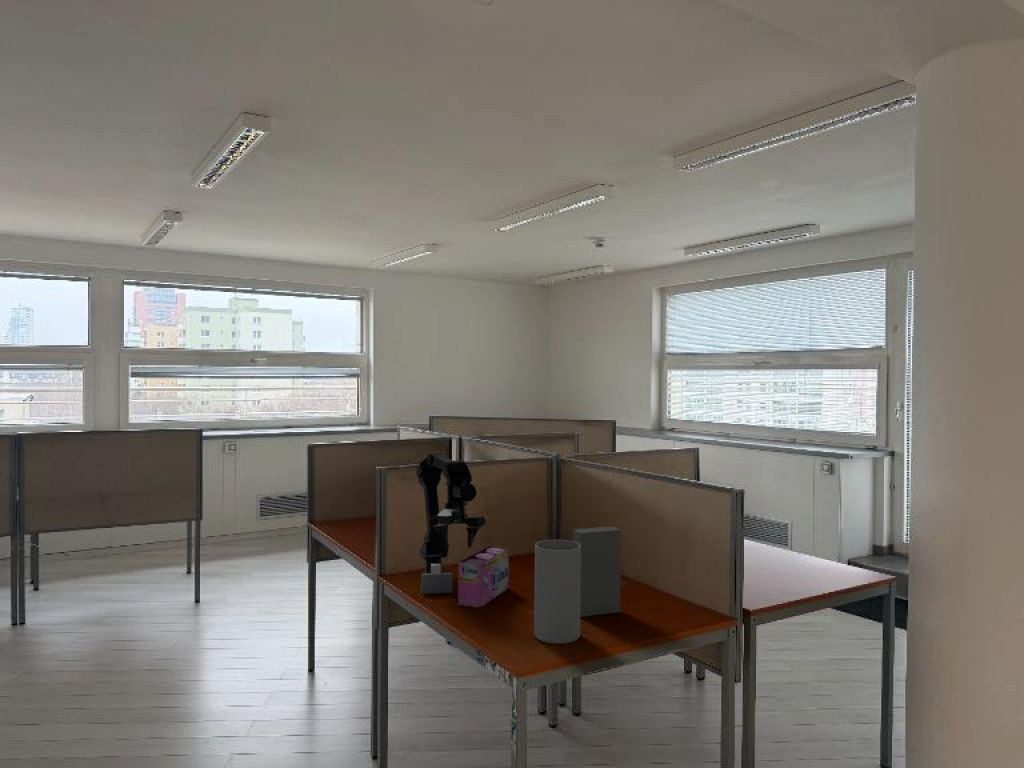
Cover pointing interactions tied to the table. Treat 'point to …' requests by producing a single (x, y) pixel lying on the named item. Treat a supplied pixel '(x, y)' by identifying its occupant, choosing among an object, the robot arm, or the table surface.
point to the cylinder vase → (557, 591)
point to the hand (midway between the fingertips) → (457, 547)
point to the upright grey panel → (599, 570)
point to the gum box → (483, 576)
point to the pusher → (436, 581)
